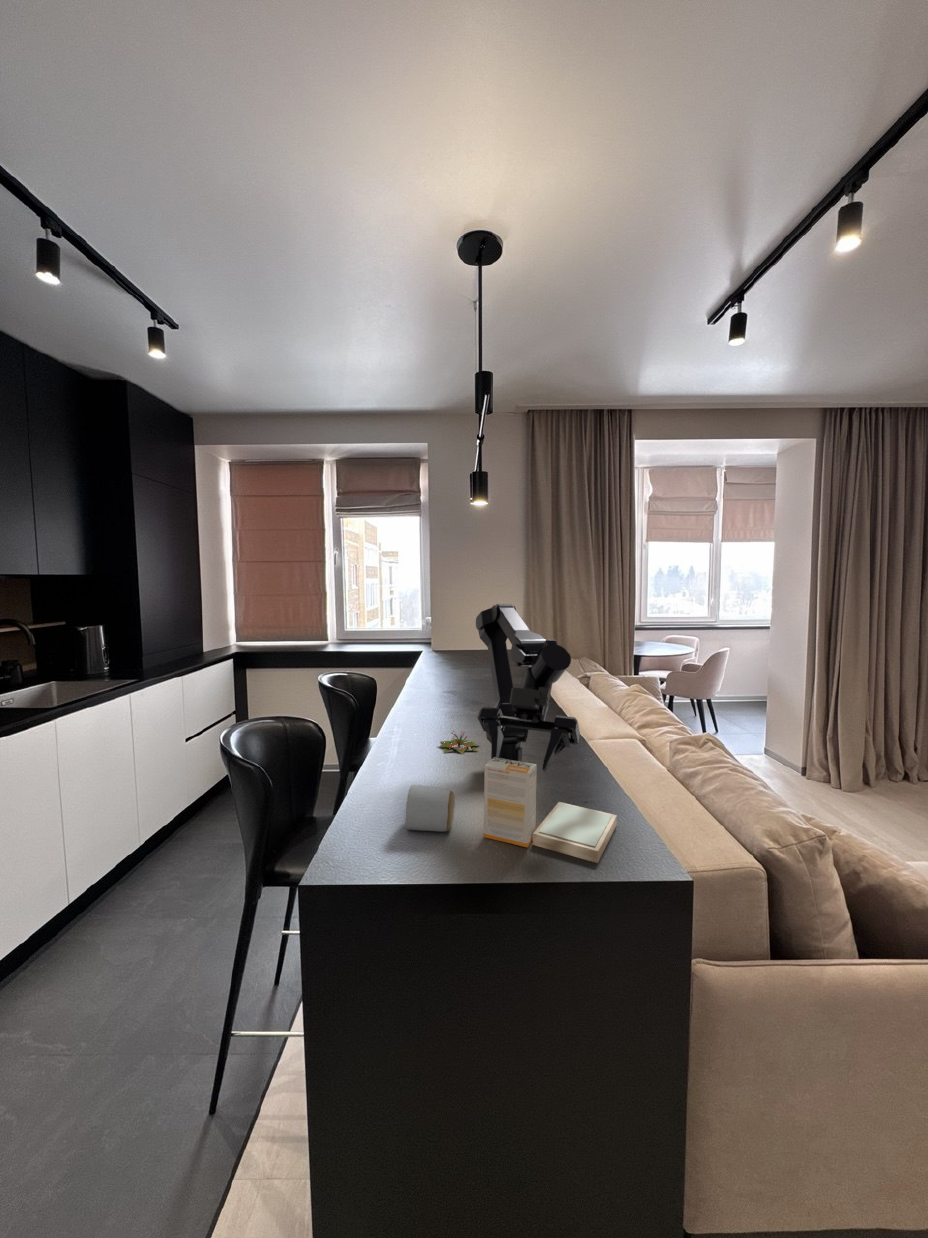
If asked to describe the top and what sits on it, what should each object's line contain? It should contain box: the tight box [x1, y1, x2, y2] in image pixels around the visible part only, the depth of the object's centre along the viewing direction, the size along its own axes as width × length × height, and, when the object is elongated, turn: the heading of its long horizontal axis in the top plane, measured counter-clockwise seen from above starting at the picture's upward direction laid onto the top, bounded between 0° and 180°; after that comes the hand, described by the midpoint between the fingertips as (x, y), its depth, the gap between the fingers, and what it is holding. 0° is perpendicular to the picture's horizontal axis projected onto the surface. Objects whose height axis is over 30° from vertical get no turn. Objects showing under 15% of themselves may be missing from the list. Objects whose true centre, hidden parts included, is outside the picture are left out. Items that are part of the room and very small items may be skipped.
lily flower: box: [436, 730, 479, 755], centre depth 135 cm, size 12×12×5 cm
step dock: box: [532, 801, 618, 864], centre depth 90 cm, size 11×14×2 cm
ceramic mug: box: [404, 783, 456, 833], centre depth 93 cm, size 11×8×8 cm
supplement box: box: [483, 757, 538, 848], centre depth 89 cm, size 8×5×13 cm, turn 65°
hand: (518, 766), depth 92 cm, fingers open, 9 cm apart
